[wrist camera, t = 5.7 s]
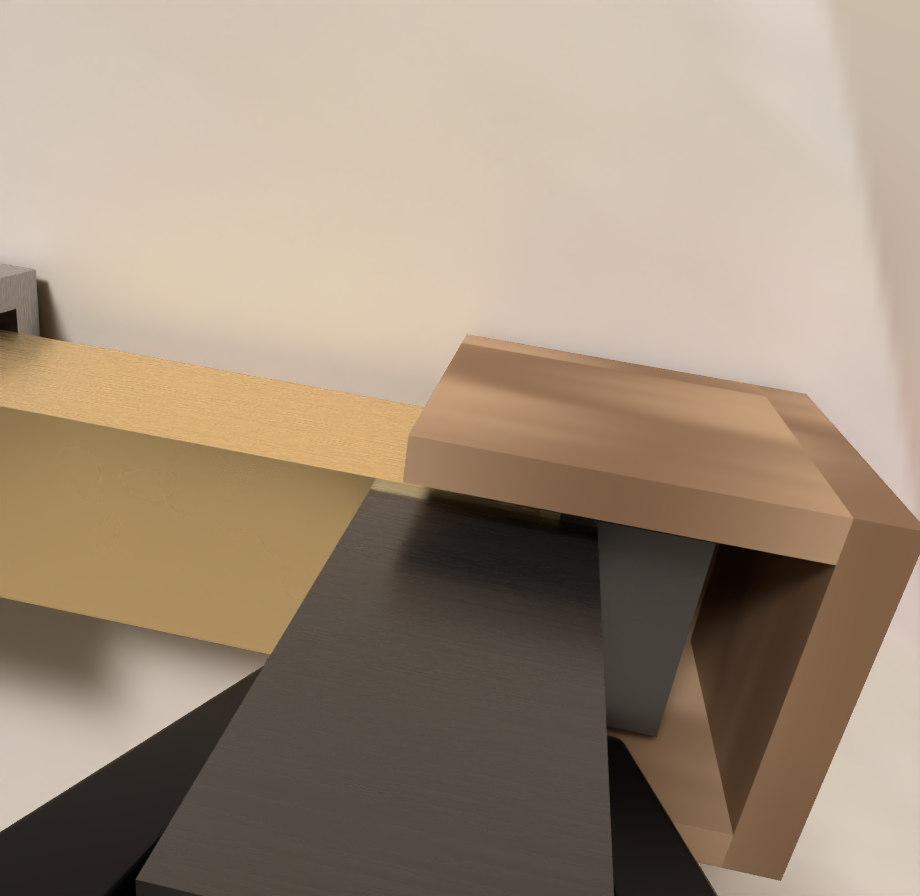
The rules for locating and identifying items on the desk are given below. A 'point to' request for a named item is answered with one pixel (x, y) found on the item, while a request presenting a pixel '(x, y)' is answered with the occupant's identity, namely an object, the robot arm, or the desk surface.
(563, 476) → the socket
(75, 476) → the slider
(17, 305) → the sleeve
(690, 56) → the desk surface
